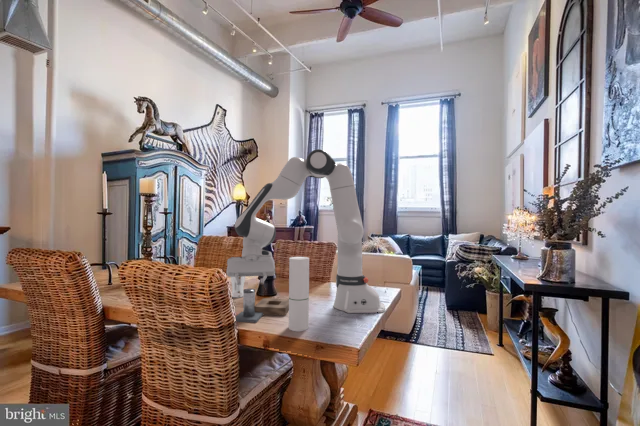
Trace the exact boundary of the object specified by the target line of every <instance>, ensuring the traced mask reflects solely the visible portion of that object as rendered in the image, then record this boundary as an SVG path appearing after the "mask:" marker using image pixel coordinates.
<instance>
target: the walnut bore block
mask: <svg viewBox="0 0 640 426" xmlns="http://www.w3.org/2000/svg"><path fill="white" fill-rule="evenodd" d="M255 312H263V316H264V315H266V316H269V315H270V316H287V314H289V298H272V297H271V298H265V297H263V298H262V299H260V301H258V302H257V304H255Z"/></svg>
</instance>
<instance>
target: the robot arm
mask: <svg viewBox="0 0 640 426" xmlns="http://www.w3.org/2000/svg"><path fill="white" fill-rule="evenodd" d="M308 177H309V178H314V179H324V178H326V179H327V182H328V185H329V191H330V197H331V201H332V202H331V203H332V207H333V213H334V218H335V224H336V225H335V226H336V231H337V267H336V268H337V269H336V270H337V273H336V276H335V286H336V291H335V297H334V302H333V308H335V309H337V310H339V311H343V312H345V313H348V314H362V313H363V314H366V313H367V314H370V313H371V314H372V313H373V314H374V313H377V312H378V313H383V312H385V311H386V307H385V304H384V303H383V302H382V301H381V300H380V299H381V298H380V295H379V293H378V292H377V291H376V290H375V288H372V286H370V285H369V284H368V282H369V278H368V277H367V276H366V275H365V274H363V244H362V243H363V242H362V241H363V237H364V234H365V228H364V226H363V225H364V224H363V220H362V215H361V211H360V207H359V203H358V196H357V191H356V186H355V181H354V178H353V174H352V171H351V169H350V167H349V166H348V165H347V164H346V163H341V162H339V163H336V161H335V160H334V159H333V157H332V156H331V154H329V153H328V152H327V151H326V150H324V149H321V148H318V149H313V150H312V151H310V152H309V153H308V154H307V157H306V159H303V158H301V157H297V156H294V157H291V158H289V159H288V161H287V162H286V163H285V165H284V166H283V168H282V169H281V171H280V173H279V174H278V175H277V178H276V179H275V180H274V181H273V182H269V183H266V184H265V185H264V186H263V187H262V188H261V189H260V190H259V192H258V193H257V195H255V197H254V198H253V199H252V200H251V202H250V203H249V204H248V206H247V207H246V209H245V210H244V211H243V212H242V213H241V214H240V215H239V216H238V217H237V219H236V220H235V223H234V226H233V227H234V230H235V232H236V234H237V235H238V236H239V237H243V239H242V246H243V248H242V249H241V250H242V251H241V256H231V257H229V258H228V259H227V261H226V265H227V267H226V275H227V277H228V278H231V277H235V279H236V281H237V285H241V279H238V278H239V277H243V276H245V277H262V278H260V280H259V281H260V282H259V283H260V285H264V284H265V281H266V279H267V277H270V276H271V277H272V276H275V273H276V265H275V260H274V258H273V254H272V252H271V251H269V250H265V249H263V248H266V247H267V246H269V245H271V244H272V243H273V242H274V241H275V239H276V235H277V229H276V227H275V224H272V223H270V222H268V221H265V220H262V219H261V218H258V217H256V215H257V214H258V213H259V211H260V210H261V209H262V207H263V206H264V204H265V203H266V202H267V201H270V200H281V201H282V200H284V201H286V200H291V199H293V198H294V197H296V195H298V193H299V191H300V189H301V188H302V185H303V183H304V182H305V180H306V179H307V178H308Z"/></svg>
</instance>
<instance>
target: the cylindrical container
mask: <svg viewBox="0 0 640 426" xmlns="http://www.w3.org/2000/svg"><path fill="white" fill-rule="evenodd" d="M288 269H289V270H288V275H289V277H288V299H289V311H288V329H289V330H290V331H293V332H305V331H307V330H309V328H310V327H309V324H310V323H309V322H310V321H309V319H310V318H309V316H310V315H309V313H310V312H309V310H310V307H309V306H310V305H309V304H310V257H307V256H290V257H289V265H288Z"/></svg>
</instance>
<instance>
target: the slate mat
mask: <svg viewBox="0 0 640 426" xmlns="http://www.w3.org/2000/svg"><path fill="white" fill-rule="evenodd" d="M263 316H264V315H263V312H255V316H253V317H244V316H243V311H240V312H239V313H238V314H237V315H236V316H235V317H236V321H237V322H239V323H254V324H255V323H258V322H259V320H260V319H261V318H262V317H263ZM237 322H236V323H237Z"/></svg>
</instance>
